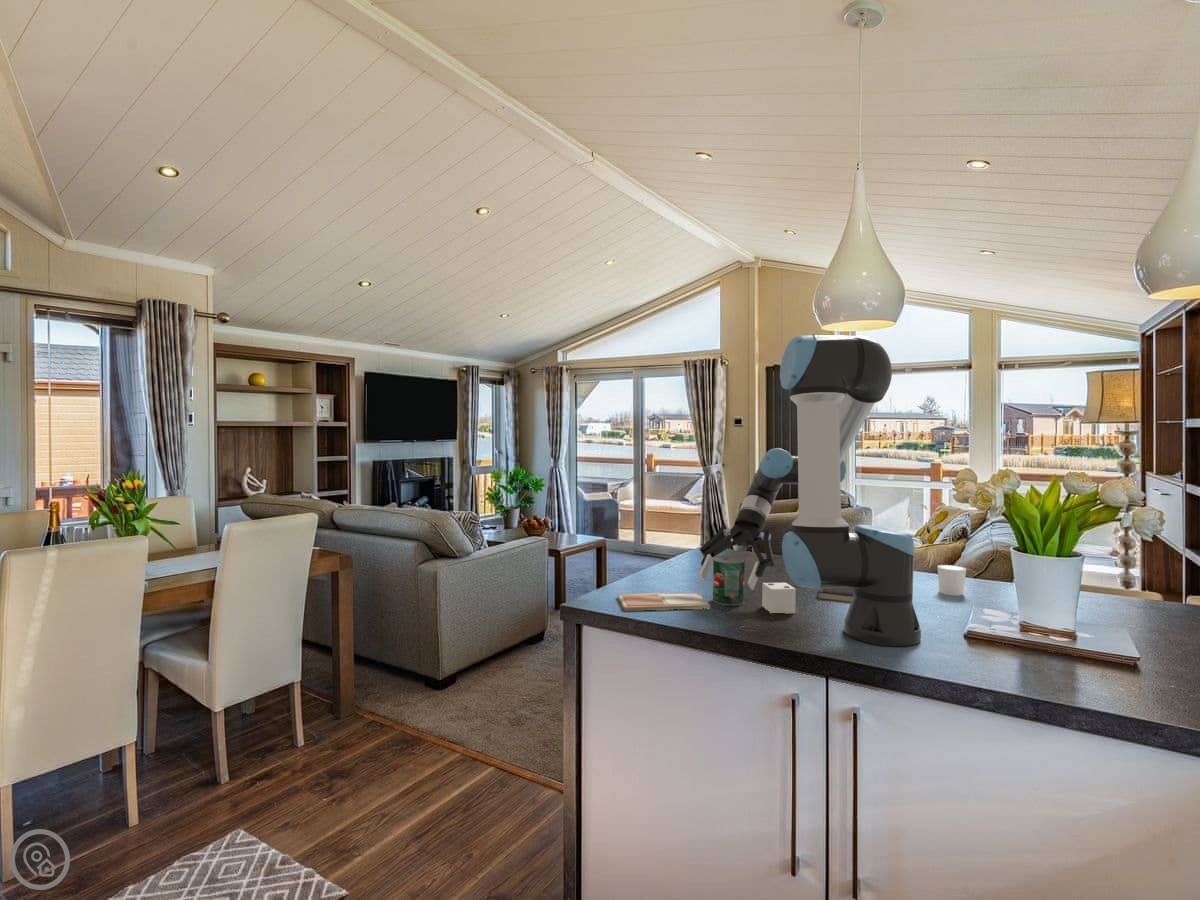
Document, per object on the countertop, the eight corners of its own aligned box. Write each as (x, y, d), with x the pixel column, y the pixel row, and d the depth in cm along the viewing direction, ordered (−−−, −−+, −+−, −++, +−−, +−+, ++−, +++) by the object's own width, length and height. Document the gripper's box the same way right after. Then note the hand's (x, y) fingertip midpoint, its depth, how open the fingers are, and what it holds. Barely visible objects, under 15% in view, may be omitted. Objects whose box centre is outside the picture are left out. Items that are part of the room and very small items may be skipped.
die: (795, 613, 153) (795, 588, 153) (771, 614, 153) (771, 588, 152) (785, 606, 159) (785, 582, 159) (762, 606, 159) (762, 582, 158)
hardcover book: (885, 586, 181) (885, 578, 181) (884, 607, 160) (884, 598, 160) (825, 580, 188) (826, 572, 188) (817, 599, 167) (817, 591, 167)
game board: (710, 609, 156) (710, 604, 156) (625, 611, 154) (625, 607, 154) (697, 595, 168) (697, 591, 168) (618, 597, 166) (618, 593, 166)
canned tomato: (750, 603, 161) (751, 560, 161) (726, 607, 157) (727, 563, 157) (729, 595, 168) (730, 554, 168) (706, 599, 164) (706, 557, 164)
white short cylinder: (969, 596, 169) (970, 570, 169) (942, 595, 170) (942, 569, 170) (959, 590, 176) (960, 564, 175) (932, 588, 177) (933, 563, 177)
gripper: (801, 529, 167) (776, 598, 156) (715, 520, 183) (688, 582, 172) (793, 511, 163) (767, 581, 152) (707, 503, 178) (677, 566, 167)
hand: (725, 582), depth 162 cm, fingers open, 13 cm apart
